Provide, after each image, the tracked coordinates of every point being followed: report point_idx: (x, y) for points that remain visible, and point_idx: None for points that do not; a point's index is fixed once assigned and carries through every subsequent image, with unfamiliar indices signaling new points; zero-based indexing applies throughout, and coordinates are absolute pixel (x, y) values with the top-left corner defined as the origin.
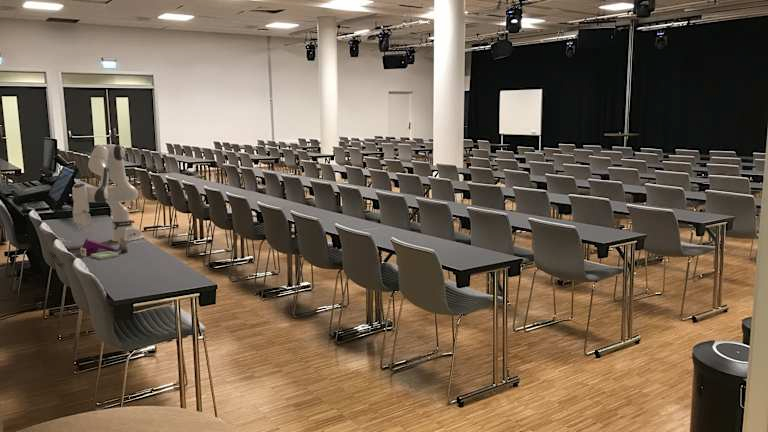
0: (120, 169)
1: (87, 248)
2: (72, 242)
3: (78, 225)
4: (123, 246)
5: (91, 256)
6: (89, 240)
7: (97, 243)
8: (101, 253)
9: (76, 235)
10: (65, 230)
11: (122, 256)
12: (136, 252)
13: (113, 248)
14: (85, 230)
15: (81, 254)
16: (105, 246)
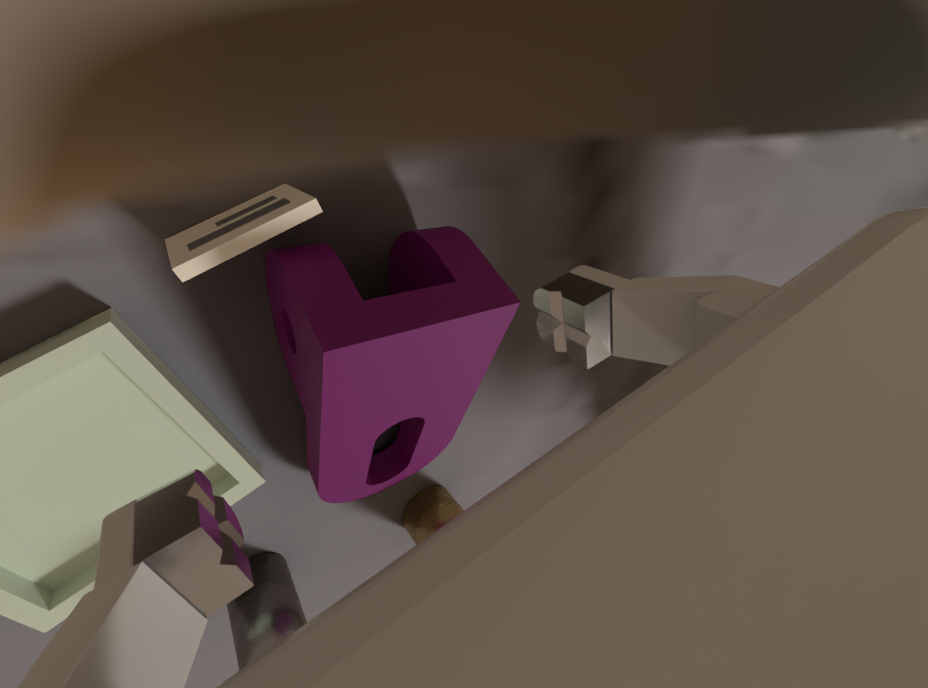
0: None
1: (286, 291)
2: (765, 156)
3: (660, 297)
4: (235, 646)
5: (94, 319)
6: (404, 350)
7: (350, 423)
8: (187, 427)
9: (846, 193)
10: (924, 150)
11: (14, 646)
12: (218, 664)
13: (357, 496)
14: (107, 550)
15: (273, 191)
16: (317, 476)
